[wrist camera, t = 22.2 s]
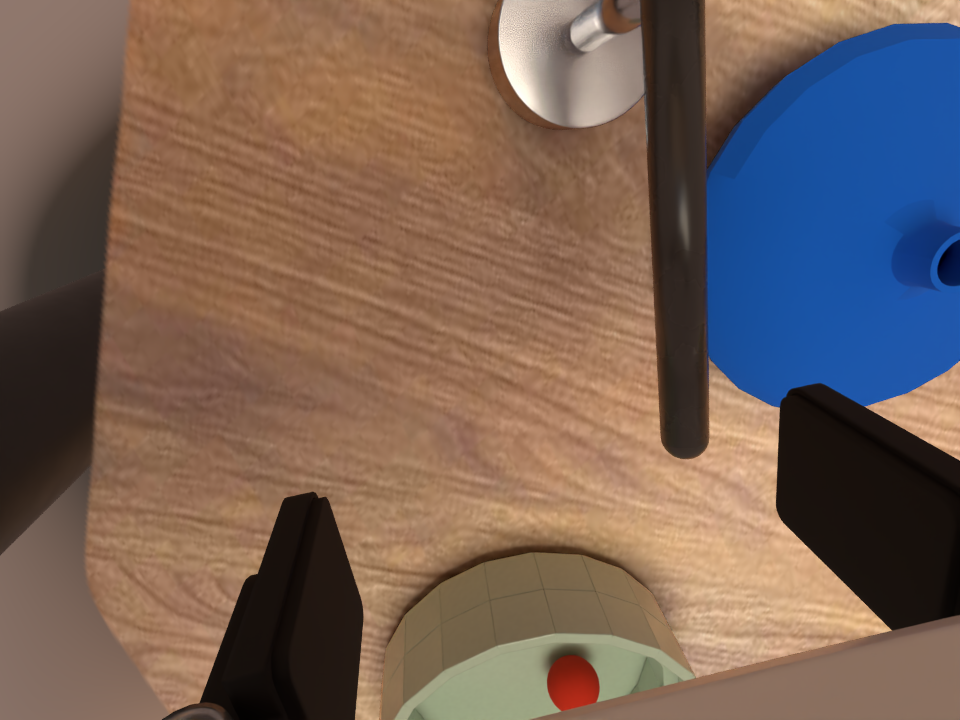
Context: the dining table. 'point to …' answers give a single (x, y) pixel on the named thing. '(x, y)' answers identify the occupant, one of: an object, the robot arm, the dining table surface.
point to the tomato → (572, 683)
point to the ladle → (670, 151)
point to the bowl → (525, 639)
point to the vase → (842, 223)
